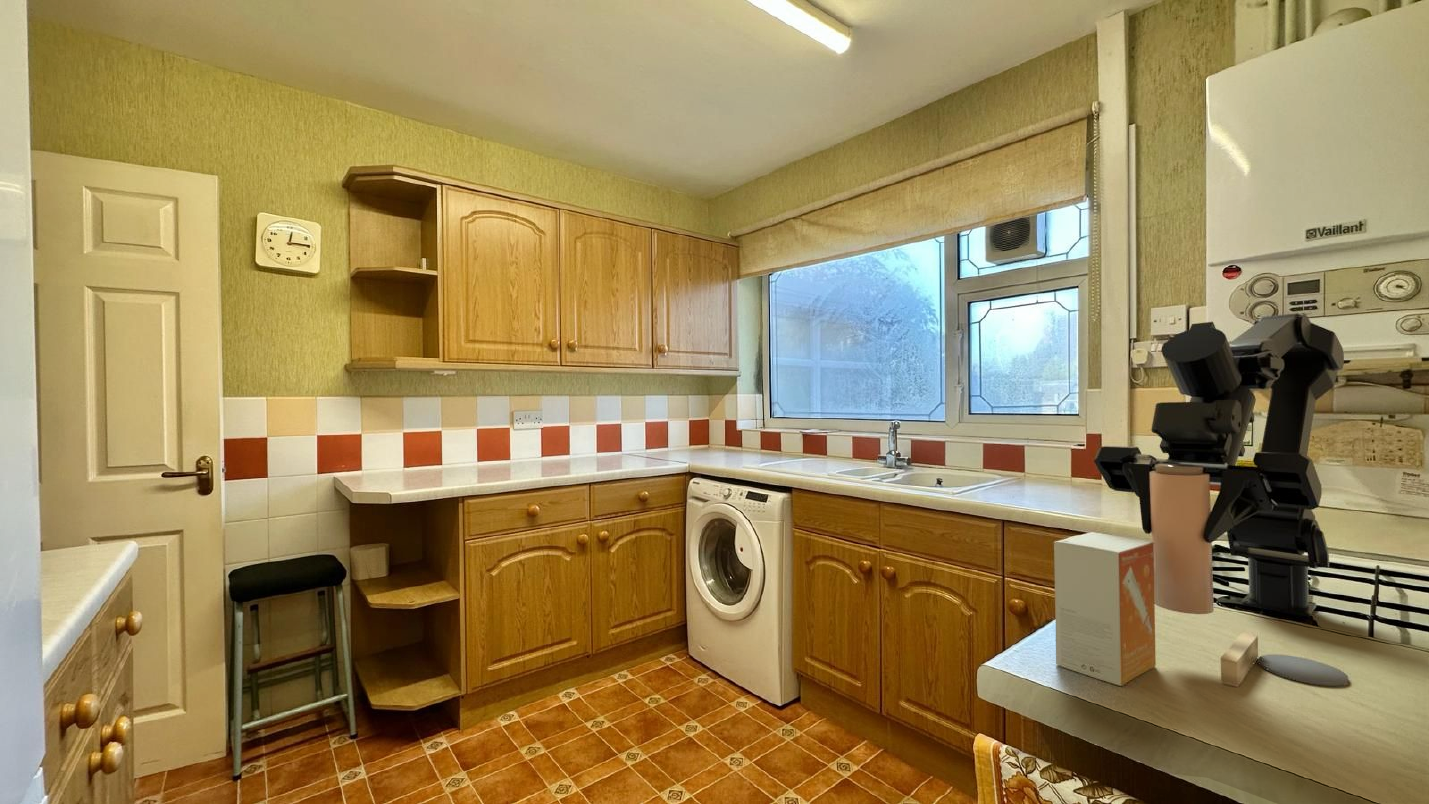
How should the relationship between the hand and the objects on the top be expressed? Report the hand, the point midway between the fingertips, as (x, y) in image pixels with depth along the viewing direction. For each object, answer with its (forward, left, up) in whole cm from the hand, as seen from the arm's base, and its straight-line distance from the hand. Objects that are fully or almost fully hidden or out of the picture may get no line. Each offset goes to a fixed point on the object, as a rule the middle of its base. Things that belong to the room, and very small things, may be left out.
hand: (1175, 535), depth 62 cm
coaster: (-7, +8, -13) cm, 17 cm away
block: (-3, +4, -13) cm, 14 cm away
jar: (-1, 0, -8) cm, 8 cm away
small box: (+6, -5, -14) cm, 16 cm away
